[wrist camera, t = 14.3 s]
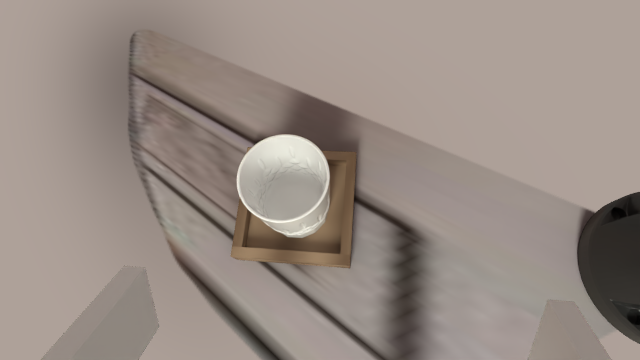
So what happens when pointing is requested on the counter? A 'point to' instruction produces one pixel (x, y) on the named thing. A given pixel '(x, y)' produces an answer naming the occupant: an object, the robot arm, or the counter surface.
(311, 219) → the white cup
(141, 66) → the counter surface
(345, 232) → the walnut coaster tray
